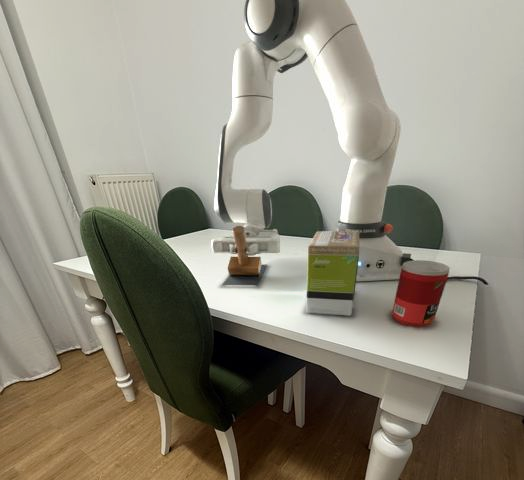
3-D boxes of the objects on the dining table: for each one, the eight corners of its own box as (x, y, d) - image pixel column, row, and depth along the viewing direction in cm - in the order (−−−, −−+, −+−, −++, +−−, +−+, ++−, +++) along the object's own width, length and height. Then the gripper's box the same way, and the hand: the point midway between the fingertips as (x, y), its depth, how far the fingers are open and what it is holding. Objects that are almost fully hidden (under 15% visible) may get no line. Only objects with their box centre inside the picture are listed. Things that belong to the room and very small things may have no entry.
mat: (267, 266, 96) (267, 264, 95) (257, 287, 79) (257, 285, 79) (237, 266, 97) (237, 264, 97) (222, 286, 80) (222, 284, 80)
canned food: (431, 331, 55) (448, 274, 49) (387, 322, 59) (398, 268, 53) (435, 315, 61) (451, 262, 55) (394, 308, 64) (406, 258, 58)
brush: (261, 266, 87) (256, 223, 76) (259, 277, 84) (253, 234, 73) (232, 266, 88) (223, 223, 77) (229, 277, 86) (219, 235, 74)
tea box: (313, 289, 76) (316, 229, 68) (353, 292, 73) (361, 229, 66) (304, 313, 64) (307, 243, 56) (351, 317, 61) (362, 244, 53)
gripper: (217, 230, 90) (202, 239, 79) (282, 229, 87) (277, 238, 76) (219, 250, 94) (206, 262, 82) (282, 250, 91) (277, 262, 79)
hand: (241, 251), depth 79 cm, fingers closed on brush, 3 cm apart
